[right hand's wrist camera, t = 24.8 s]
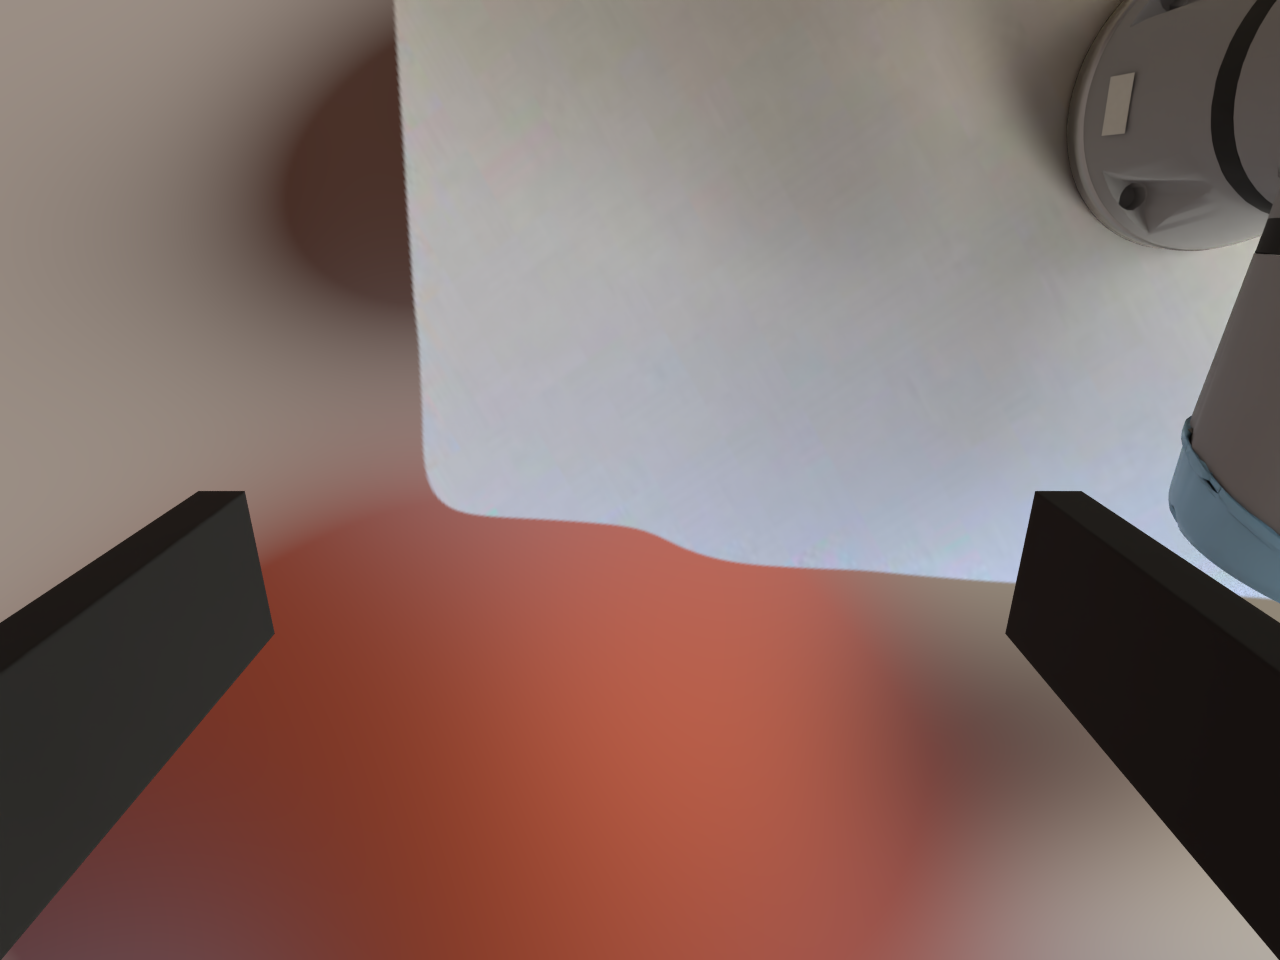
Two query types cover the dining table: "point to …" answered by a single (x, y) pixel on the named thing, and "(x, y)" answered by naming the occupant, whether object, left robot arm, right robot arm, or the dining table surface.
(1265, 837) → the right robot arm
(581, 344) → the dining table surface
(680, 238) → the dining table surface
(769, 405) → the dining table surface
